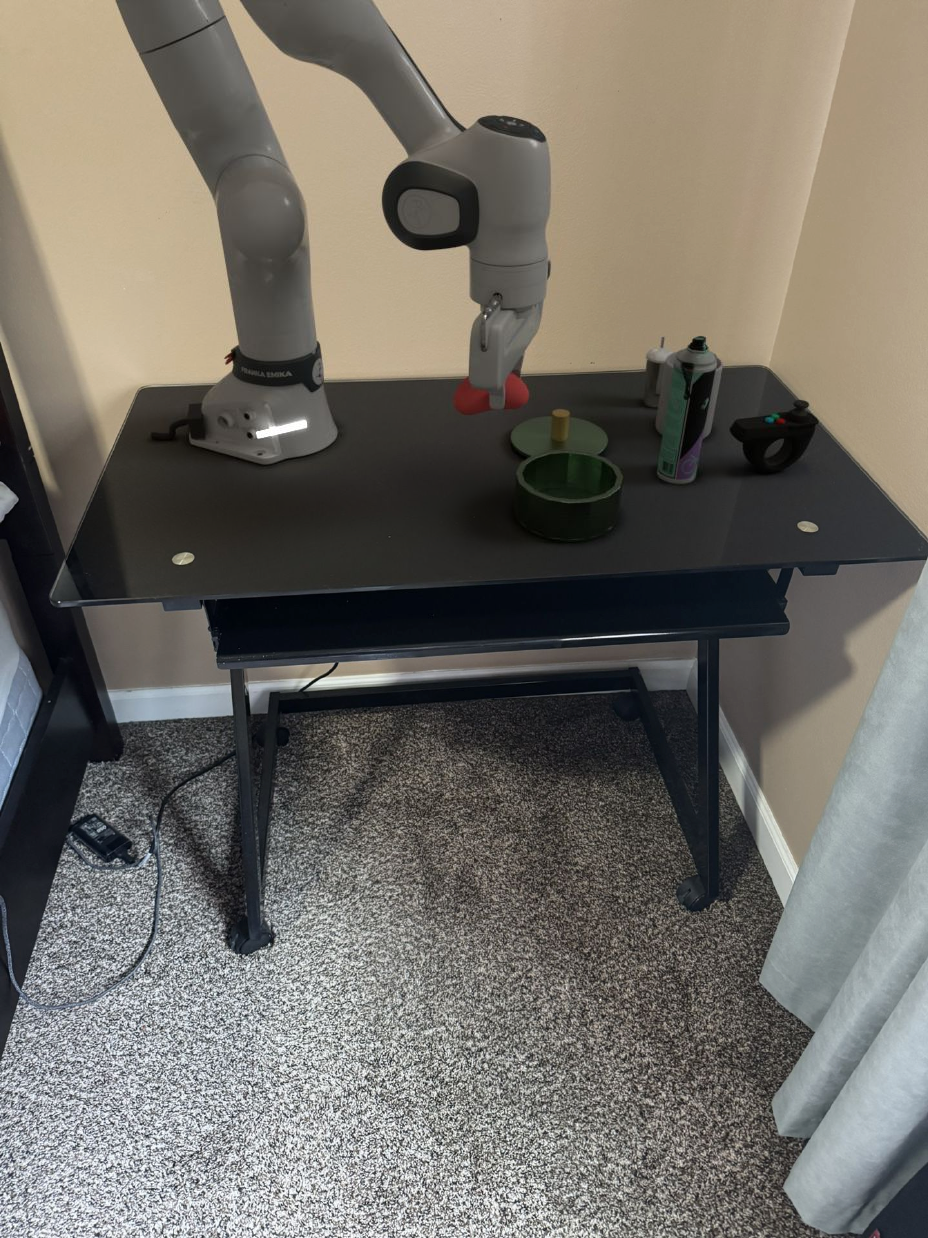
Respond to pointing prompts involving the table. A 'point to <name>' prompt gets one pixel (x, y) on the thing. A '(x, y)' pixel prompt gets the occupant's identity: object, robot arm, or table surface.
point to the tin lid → (558, 435)
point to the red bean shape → (478, 400)
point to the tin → (568, 495)
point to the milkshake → (655, 374)
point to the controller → (776, 436)
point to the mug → (666, 388)
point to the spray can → (686, 412)
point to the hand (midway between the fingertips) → (505, 394)
